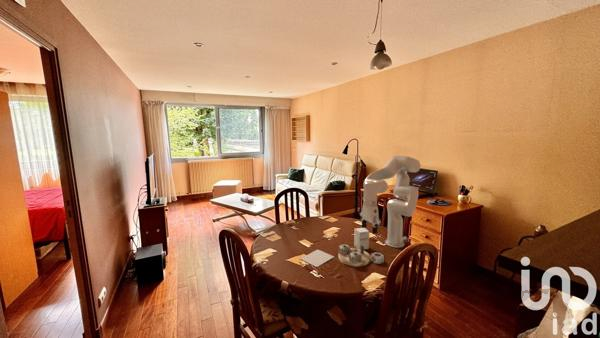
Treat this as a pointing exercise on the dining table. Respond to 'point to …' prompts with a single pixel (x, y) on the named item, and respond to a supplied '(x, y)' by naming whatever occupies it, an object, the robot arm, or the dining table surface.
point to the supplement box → (361, 238)
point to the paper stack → (317, 258)
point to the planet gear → (377, 258)
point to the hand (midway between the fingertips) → (369, 230)
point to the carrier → (353, 256)
